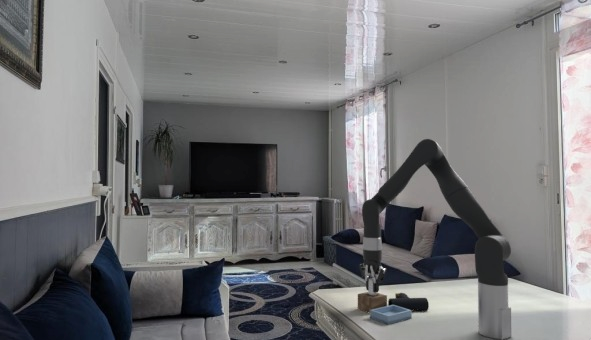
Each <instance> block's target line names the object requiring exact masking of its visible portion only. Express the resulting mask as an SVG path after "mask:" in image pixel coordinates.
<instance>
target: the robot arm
mask: <svg viewBox="0 0 591 340" xmlns="http://www.w3.org/2000/svg"><path fill="white" fill-rule="evenodd" d="M424 165H425V166H426V168H427V169H428V170H429V172H431V174H432V175H433V176H434V178H435V179H436V183H437V185H438V187H439V189H440V192H441V194H442V196H443V198H444V199H445V201H446V202H447V204H448V206H449V207H450V209H451V210H452V211H453V213H454V214H455V215H456V216H457V217H459V219H461V220H462V221H463V222H464V223H465V224H466V225H467V226H468V227H469V228H470V229H472V231H473V232H474V234H475V235H476V237H477V238H478V240H477V241H476V242H475V246H474V264H475V265H474V268H475V273H476V276H477V292H478V293H477V304H478V305H477V306H478V307H477V309H478V310H477V311H478V312H477V313H478V314H477V316H478V320H477V321H478V322H477V323H478V325H477V327H478V334H480V335H482V336H483V337H486V338H489V339H496V340H497V339H498V340H505V339H508V338H510V337H512V308H511V307H510V306H509V278H508V275H507V274H506V273H505V270H504V261H506V260H508V259H509V258H510V256H511V252H512V248H511V244H510V242H509V241H508V240H507V238H506V237H505V236H504V235H503V233H502V232H501V231H500V230H499V229H498V228H497V226H496V225H495V223H493V222H492V220H491V219H490V217H489V215H488V214H487V213H486V211H485V210H484V208H483V207H482V205H481V204H480V202H479V201H478V200H477V198H476V196H475V195H474V193H473V191H472V190H471V189H470V188H469V186H468V184H467V183H466V182H465V181H464V180H463V179H462V178H461V177H460V175H459V174H458V173H457V172H456V171H455V170H454V168H453V167H452V165H451V163H450V162H449V160H448V158H447V157H446V154H445V152H444V150H443V148H442V147H441V146H440V144H438V142H437V141H436V140H434V139H432V138H425V139H422V140H420V141H419V142H418V143H417V144H416V145H415V147H414V148H413V150H411V153H410V154H409V155H408V157H407V158H406V159H405V161H404V162H403V163H402V164H401V166H400V167H399V168H398V169H397V170H396V171H395V172H394V173H393V174H392V176H390V177H389V179H387V180H386V181H385V183H383V184H382V186H381V187H379V189H378V191H377V192H376V194H374V195H373V196H372V197H371V199H367V200H365V201H364V202H363V203H362V207H361V214H362V221H363V238H362V239H363V240H362V256H363V257H362V259H363V260H364V261H363V263H360V264H358V268H359V272H360V275H361V278H362V279H363V280H364V281H365V289H366V291H368V279H369V278H373V282H374V283H373V292H375V293H379V292H380V283H383V282H384V280H385V276H386V273H387V268H386V267H385V268H384V267H383V266H382V259H383V255H382V254H383V251H382V247H383V245H382V244H383V242H382V227H381V226H382V225H381V224H380V214H381V213H382V212H383V211H384V210H385V209H386V208H387V207H388V206H389V204H390V203H391V202H392V201H393V200H394V199H396V197H398V196H399V195H400V194H401V193H402V191H404V189H405V188H406V187H407V185H408V183H409V182H410V181H411V179H412V178H413V177H414V175H415V173H416V172H417V171H418V170H419V169H421V168H422V167H423V166H424Z"/></svg>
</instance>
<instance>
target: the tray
mask: <svg viewBox="0 0 591 340" xmlns="http://www.w3.org/2000/svg"><path fill="white" fill-rule="evenodd" d="M412 313H413V311H412V310H409V309H406V308H402V307H399V306H396V305H390V306H388V305H387V306H385V307H381V308H377V309H372V310H370V313H369V318H370V319H372V320H373V321H377V322H380V323H383V324H385V325H392V324H396V323H399V322H403V321H407V320H411V319H412V317H413V316H412Z"/></svg>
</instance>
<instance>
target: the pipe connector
mask: <svg viewBox="0 0 591 340" xmlns="http://www.w3.org/2000/svg"><path fill="white" fill-rule="evenodd" d="M394 294H395V296H394V297H393V298H392V297H391V298H389V299H388V300H387V306H390V305H396V306H399V307H402V308H406V309H409V310H412V312H416V311H417V312H419V311H420V312H421V311H424V312H425V311H428V310H429V307H430V306H429V300H428V298H427V297H410V296H408V295H407V294H406V293H405V292H404V293H403V292H399V293H394Z"/></svg>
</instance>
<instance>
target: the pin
mask: <svg viewBox="0 0 591 340" xmlns="http://www.w3.org/2000/svg"><path fill="white" fill-rule="evenodd" d="M373 283H374V282H373V277H372V278H369V279H368V290H367V292H368V296H372V297H374V296H376V293H377V292H376V293H375V292H373Z"/></svg>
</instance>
